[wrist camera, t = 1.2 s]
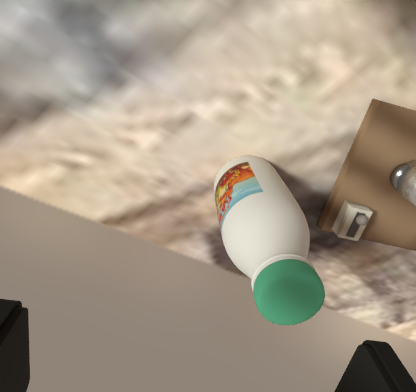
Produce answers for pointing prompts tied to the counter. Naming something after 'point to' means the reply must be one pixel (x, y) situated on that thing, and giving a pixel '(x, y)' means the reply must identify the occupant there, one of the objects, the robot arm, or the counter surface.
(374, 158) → the lever stand
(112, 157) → the counter surface
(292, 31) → the counter surface
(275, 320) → the milk bottle
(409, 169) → the crank handle
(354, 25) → the counter surface
